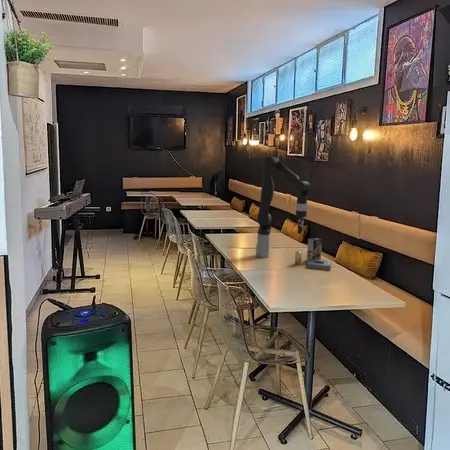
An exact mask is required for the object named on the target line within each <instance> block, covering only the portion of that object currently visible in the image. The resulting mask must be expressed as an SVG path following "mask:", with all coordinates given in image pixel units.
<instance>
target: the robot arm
mask: <svg viewBox="0 0 450 450" xmlns="http://www.w3.org/2000/svg"><path fill="white" fill-rule="evenodd" d="M262 165H263V167H262V169H263V170H262V171H263V172H262V184H261V189H260V190H261V191H260V200H259V209H258V212H257V217H256V219H257V224H258V225H259V227H258V229H257V242H256V249H255V257H257V258H269V256H270V240H271V239H270V238H271V237H270V236H271V231H272V221H273V218H272V215H271V214H270V213H269V212H270V206H271V203H272V201H273V199H274V193H275V192H274V191H275V185H274V181H273V170H276V171H277V172H279V173H280V174H281V175H282V177H283V178H284V179H285V180H286V181H287V182H288V183H289V184H291V185H292V186H293V187H294V189H295V190H296V191H298V192H300V193H299V194H298V195H297V197H296V205H295V217H296V218H297V217H298V219H297V234H300V235H301V234H302V232H303V226H304V222H305V220H304V219H305V218H306V217H307V215H308V212H307V211H308V197H309V194H310V190H311V186H310V183H309V182H308V181H306V180H305V181H302V180H300V177H299V176H298V175H297V174H295V173H294V172H293V171H291V170H290V169H289V168H288V167H287V166H286V165H285V164H284V163H283V162H282V161H281V160H280V158H278V157H277V156H272V155H271V156H270V155H268V156H265V158H264V160H263V164H262Z"/></svg>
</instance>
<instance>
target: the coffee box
mask: <svg viewBox="0 0 450 450" xmlns="http://www.w3.org/2000/svg"><path fill="white" fill-rule="evenodd" d="M322 248H323V239H322V238H317V237H313V238H308V240H307V252H306V260H307V261H308V259H316V260H322Z"/></svg>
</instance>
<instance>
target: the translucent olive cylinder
mask: <svg viewBox="0 0 450 450" xmlns="http://www.w3.org/2000/svg"><path fill="white" fill-rule="evenodd" d="M294 253H295V256H294V265H296V266H301V264H302V253H303V252H302V251H300V250H296V251H295V252H294Z"/></svg>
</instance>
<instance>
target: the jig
mask: <svg viewBox="0 0 450 450" xmlns="http://www.w3.org/2000/svg"><path fill="white" fill-rule="evenodd" d="M331 266H332V260H329V259H328V260H324V259H321V260H316V259H308V260H307V263H306V269H313V270H323V271H331V268H332V267H331Z"/></svg>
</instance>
